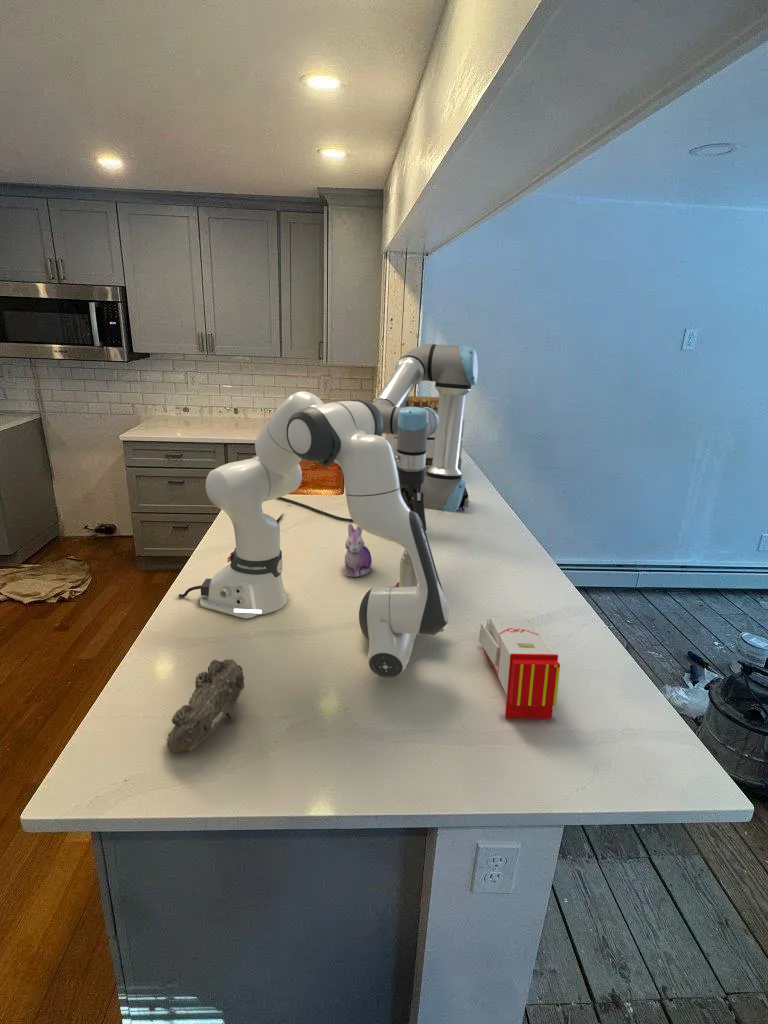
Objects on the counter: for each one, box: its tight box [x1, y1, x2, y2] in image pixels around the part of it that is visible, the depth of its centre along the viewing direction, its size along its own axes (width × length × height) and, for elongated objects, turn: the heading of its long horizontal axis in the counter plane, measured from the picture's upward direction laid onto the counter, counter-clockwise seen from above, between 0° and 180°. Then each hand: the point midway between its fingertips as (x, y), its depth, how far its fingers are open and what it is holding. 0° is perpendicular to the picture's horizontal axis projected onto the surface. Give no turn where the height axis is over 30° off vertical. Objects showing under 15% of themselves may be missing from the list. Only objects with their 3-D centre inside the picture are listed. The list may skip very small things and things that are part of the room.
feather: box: [276, 513, 284, 523], centre depth 210 cm, size 2×28×2 cm
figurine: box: [343, 523, 373, 578], centre depth 168 cm, size 9×10×15 cm
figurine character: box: [455, 486, 470, 512], centre depth 229 cm, size 7×8×15 cm
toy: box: [478, 616, 561, 720], centre depth 122 cm, size 12×13×30 cm
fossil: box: [166, 658, 245, 754], centre depth 106 cm, size 22×10×15 cm
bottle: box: [398, 548, 419, 587], centre depth 140 cm, size 5×5×22 cm
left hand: (407, 598), depth 143 cm, fingers open, 5 cm apart
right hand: (406, 542), depth 155 cm, fingers open, 13 cm apart
